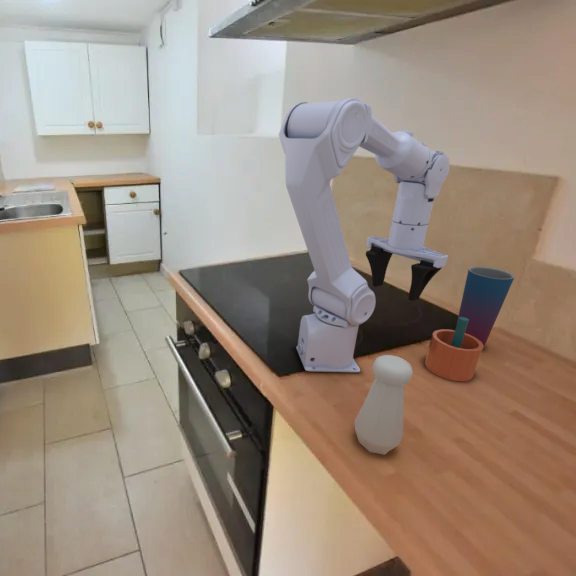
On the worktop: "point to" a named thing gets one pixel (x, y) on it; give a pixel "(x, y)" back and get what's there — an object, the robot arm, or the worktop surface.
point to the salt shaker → (384, 406)
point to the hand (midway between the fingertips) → (394, 292)
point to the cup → (484, 299)
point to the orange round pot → (453, 356)
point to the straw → (459, 332)
